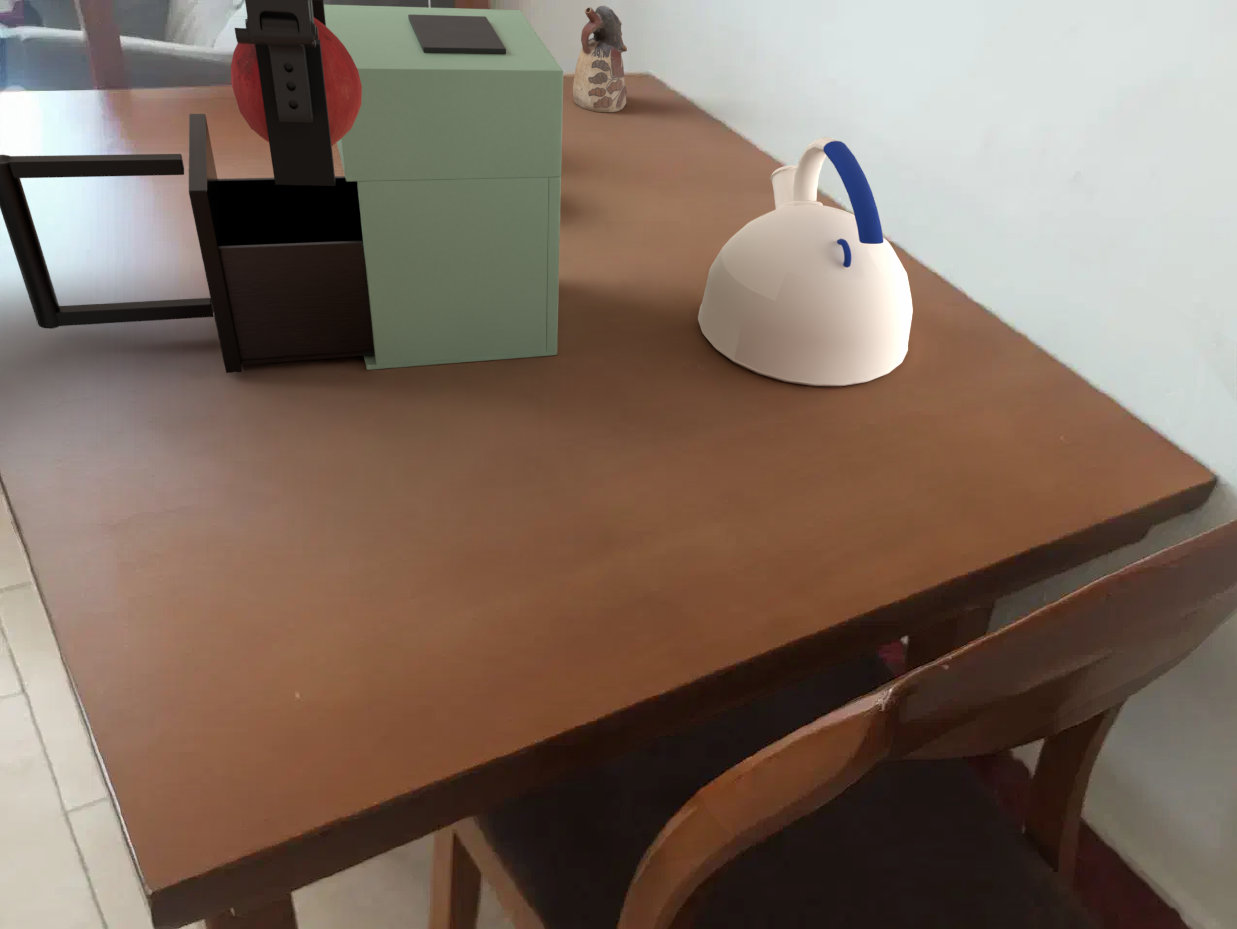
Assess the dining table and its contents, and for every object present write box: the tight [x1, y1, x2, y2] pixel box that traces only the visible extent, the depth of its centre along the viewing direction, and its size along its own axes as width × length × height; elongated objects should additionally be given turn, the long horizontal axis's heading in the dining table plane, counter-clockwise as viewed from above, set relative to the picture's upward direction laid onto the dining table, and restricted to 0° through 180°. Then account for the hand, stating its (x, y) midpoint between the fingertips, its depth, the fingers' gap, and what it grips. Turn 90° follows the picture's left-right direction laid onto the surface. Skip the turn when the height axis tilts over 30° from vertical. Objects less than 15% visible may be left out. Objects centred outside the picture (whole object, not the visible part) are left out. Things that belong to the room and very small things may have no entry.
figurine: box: [572, 5, 628, 113], centre depth 141 cm, size 7×7×12 cm
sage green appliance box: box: [324, 3, 564, 371], centre depth 89 cm, size 16×15×24 cm
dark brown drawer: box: [0, 113, 375, 374], centre depth 86 cm, size 28×15×15 cm, turn 110°
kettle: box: [697, 136, 914, 387], centre depth 98 cm, size 20×21×18 cm
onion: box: [230, 11, 362, 146], centre depth 52 cm, size 6×6×8 cm
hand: (307, 154), depth 55 cm, fingers closed on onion, 6 cm apart
